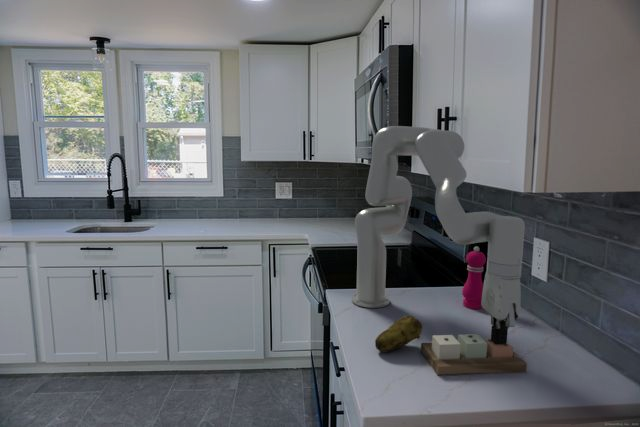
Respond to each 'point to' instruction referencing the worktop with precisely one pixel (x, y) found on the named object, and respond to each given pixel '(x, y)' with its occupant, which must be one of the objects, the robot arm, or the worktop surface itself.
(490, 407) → the worktop surface
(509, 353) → the three-pip tile
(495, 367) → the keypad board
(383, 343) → the potato
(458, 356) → the one-pip tile
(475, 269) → the pepper mill
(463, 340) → the two-pip tile
